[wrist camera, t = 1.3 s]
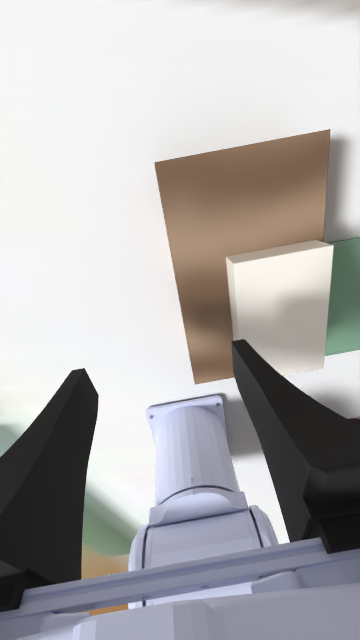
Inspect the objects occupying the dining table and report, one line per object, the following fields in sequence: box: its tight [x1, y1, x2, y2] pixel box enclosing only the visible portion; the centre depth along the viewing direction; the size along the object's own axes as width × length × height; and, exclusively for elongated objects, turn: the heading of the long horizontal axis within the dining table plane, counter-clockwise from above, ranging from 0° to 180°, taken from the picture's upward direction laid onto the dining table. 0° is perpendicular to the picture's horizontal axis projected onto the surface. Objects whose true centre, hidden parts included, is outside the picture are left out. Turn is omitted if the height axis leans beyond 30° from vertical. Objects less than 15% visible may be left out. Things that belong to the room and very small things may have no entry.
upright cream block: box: [226, 240, 334, 376], centre depth 19 cm, size 9×6×2 cm, turn 10°
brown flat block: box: [155, 129, 330, 384], centre depth 20 cm, size 16×10×4 cm, turn 10°
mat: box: [324, 238, 360, 356], centre depth 24 cm, size 11×8×1 cm
